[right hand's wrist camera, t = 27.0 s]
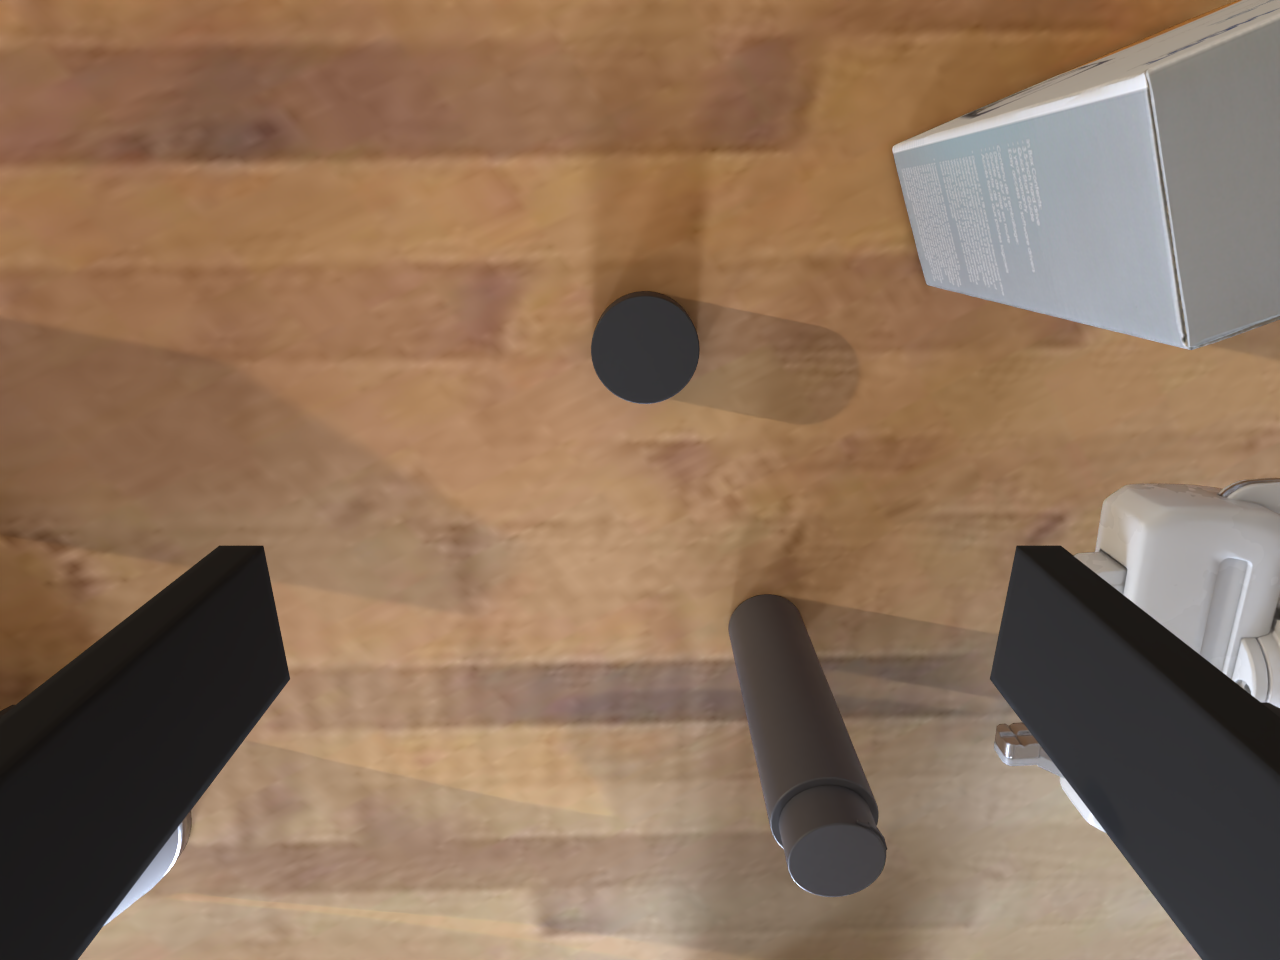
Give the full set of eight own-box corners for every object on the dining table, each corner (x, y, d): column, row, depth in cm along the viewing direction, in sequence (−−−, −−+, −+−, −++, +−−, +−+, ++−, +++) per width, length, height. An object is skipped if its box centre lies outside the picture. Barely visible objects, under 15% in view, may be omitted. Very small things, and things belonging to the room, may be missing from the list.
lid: (642, 268, 38) (642, 271, 36) (717, 340, 39) (721, 348, 37) (572, 346, 39) (568, 354, 37) (647, 413, 40) (647, 424, 38)
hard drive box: (1205, 7, 33) (1924, -259, 15) (1224, 172, 36) (1861, 123, 17) (883, 145, 35) (1155, 65, 17) (922, 292, 38) (1196, 366, 19)
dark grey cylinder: (777, 668, 46) (854, 918, 30) (715, 640, 46) (757, 880, 29) (815, 612, 45) (918, 842, 28) (751, 582, 44) (818, 800, 28)
